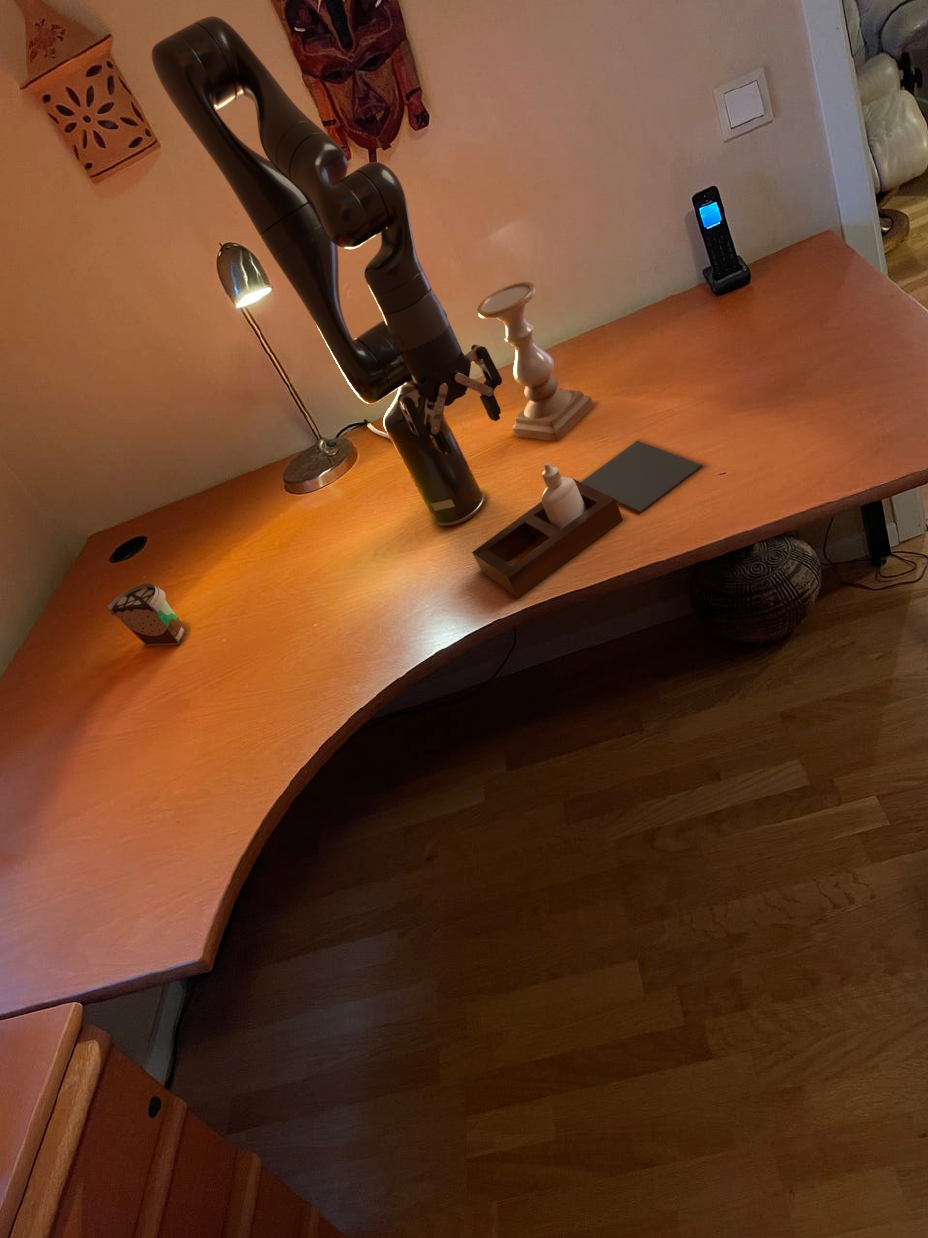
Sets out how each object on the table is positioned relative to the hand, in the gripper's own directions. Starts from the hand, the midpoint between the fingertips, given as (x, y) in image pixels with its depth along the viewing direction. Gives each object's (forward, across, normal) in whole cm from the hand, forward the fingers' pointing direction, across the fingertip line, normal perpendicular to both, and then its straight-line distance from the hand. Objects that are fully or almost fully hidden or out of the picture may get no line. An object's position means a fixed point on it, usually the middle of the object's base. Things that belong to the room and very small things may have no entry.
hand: (471, 435), depth 117 cm
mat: (+18, -19, +6) cm, 27 cm away
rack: (+18, -1, +8) cm, 20 cm away
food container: (+18, +54, -40) cm, 70 cm away
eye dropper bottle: (+19, -6, +7) cm, 21 cm away
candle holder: (+18, -23, -23) cm, 37 cm away
